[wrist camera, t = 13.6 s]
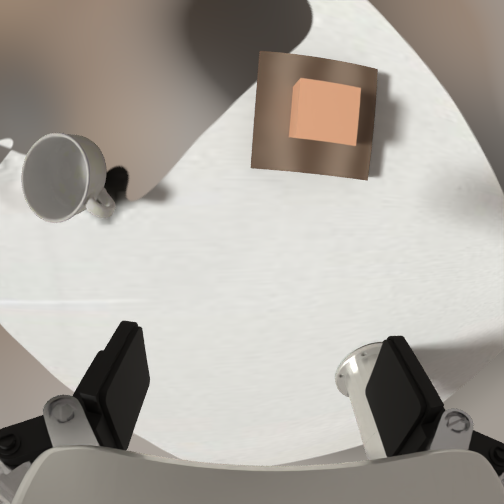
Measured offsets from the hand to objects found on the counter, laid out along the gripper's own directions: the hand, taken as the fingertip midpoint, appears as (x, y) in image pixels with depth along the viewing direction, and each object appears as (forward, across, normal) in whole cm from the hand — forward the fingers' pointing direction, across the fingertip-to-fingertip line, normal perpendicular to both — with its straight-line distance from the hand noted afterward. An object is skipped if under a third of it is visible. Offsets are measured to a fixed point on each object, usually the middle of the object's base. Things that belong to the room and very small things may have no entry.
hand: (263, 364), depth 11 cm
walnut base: (+30, -6, -11) cm, 33 cm away
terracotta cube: (+27, -6, -11) cm, 30 cm away
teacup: (+31, +23, -2) cm, 38 cm away
